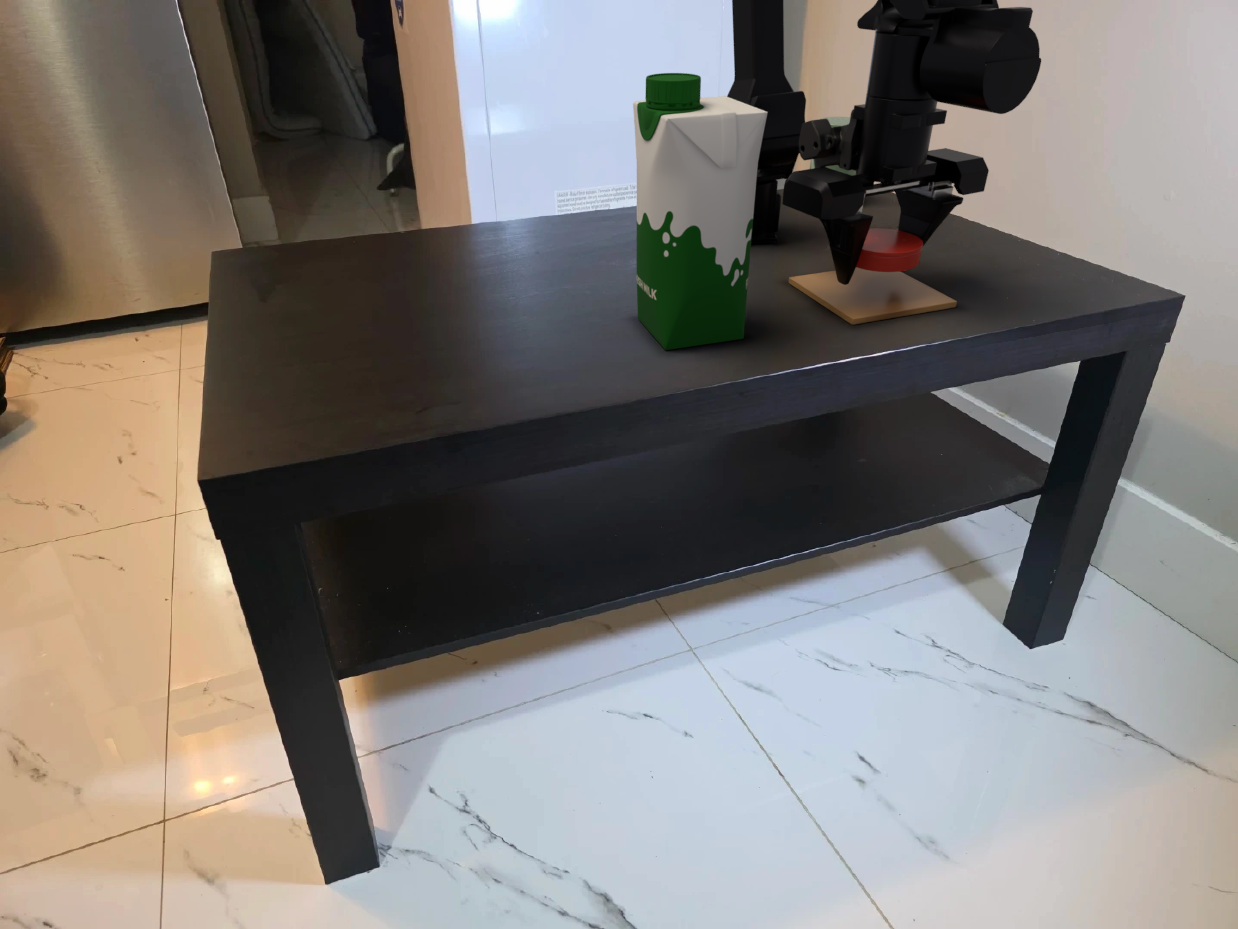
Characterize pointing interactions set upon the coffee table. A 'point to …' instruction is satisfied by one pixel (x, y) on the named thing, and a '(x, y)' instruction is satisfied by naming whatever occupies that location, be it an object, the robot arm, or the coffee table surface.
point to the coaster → (871, 295)
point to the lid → (890, 251)
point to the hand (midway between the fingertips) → (871, 276)
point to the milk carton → (694, 210)
